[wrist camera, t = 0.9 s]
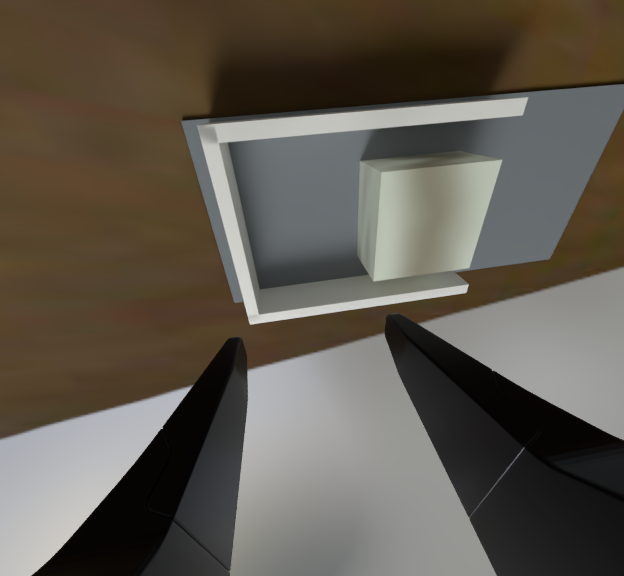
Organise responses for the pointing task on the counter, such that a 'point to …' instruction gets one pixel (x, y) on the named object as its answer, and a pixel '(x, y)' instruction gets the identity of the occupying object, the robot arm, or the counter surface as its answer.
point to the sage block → (422, 212)
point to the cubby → (344, 290)
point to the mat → (397, 143)
